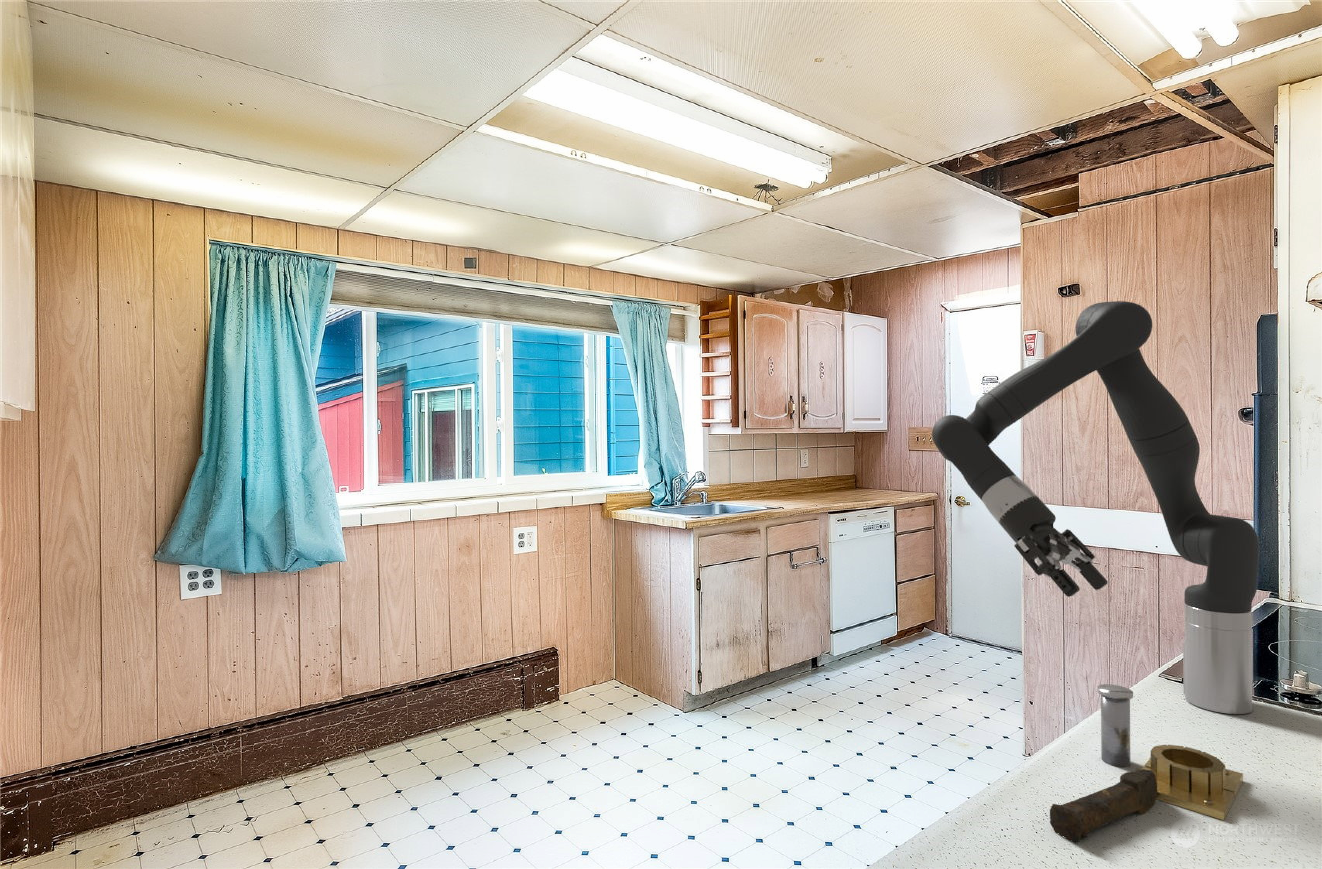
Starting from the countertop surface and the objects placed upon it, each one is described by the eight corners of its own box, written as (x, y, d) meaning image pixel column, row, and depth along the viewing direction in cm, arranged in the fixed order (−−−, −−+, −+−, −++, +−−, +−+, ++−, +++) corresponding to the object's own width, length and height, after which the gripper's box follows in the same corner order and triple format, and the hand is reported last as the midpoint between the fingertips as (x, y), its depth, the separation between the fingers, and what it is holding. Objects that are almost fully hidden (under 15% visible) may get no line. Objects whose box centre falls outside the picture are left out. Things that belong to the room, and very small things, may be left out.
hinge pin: (1092, 753, 105) (1092, 683, 105) (1124, 754, 105) (1123, 684, 105) (1107, 767, 101) (1106, 694, 101) (1140, 769, 100) (1139, 695, 100)
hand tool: (1078, 849, 82) (1078, 810, 82) (1047, 831, 86) (1047, 793, 86) (1178, 812, 90) (1178, 776, 90) (1146, 797, 94) (1146, 762, 93)
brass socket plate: (1156, 756, 104) (1156, 731, 104) (1243, 780, 97) (1242, 753, 97) (1130, 790, 95) (1130, 762, 95) (1223, 820, 87) (1223, 790, 87)
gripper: (1008, 496, 111) (1083, 581, 102) (1055, 492, 119) (1129, 570, 110) (977, 526, 116) (1046, 610, 106) (1025, 520, 124) (1093, 597, 114)
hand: (1088, 590), depth 108 cm, fingers open, 8 cm apart
